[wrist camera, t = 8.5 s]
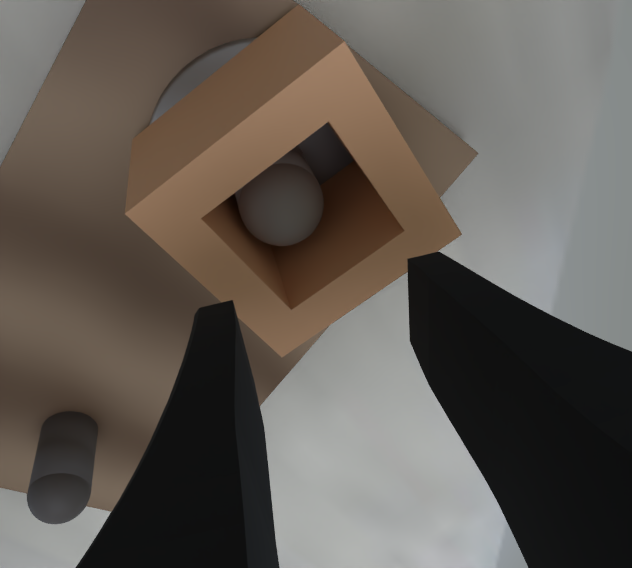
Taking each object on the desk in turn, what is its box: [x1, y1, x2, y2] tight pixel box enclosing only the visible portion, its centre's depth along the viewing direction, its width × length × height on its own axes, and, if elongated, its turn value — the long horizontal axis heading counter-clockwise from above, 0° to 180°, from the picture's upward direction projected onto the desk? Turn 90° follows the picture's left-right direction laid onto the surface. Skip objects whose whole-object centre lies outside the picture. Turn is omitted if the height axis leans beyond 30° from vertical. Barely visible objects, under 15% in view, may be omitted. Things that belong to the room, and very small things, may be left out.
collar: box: [125, 4, 462, 357], centre depth 15 cm, size 6×6×4 cm
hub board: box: [0, 0, 478, 524], centre depth 18 cm, size 21×12×6 cm, turn 142°
